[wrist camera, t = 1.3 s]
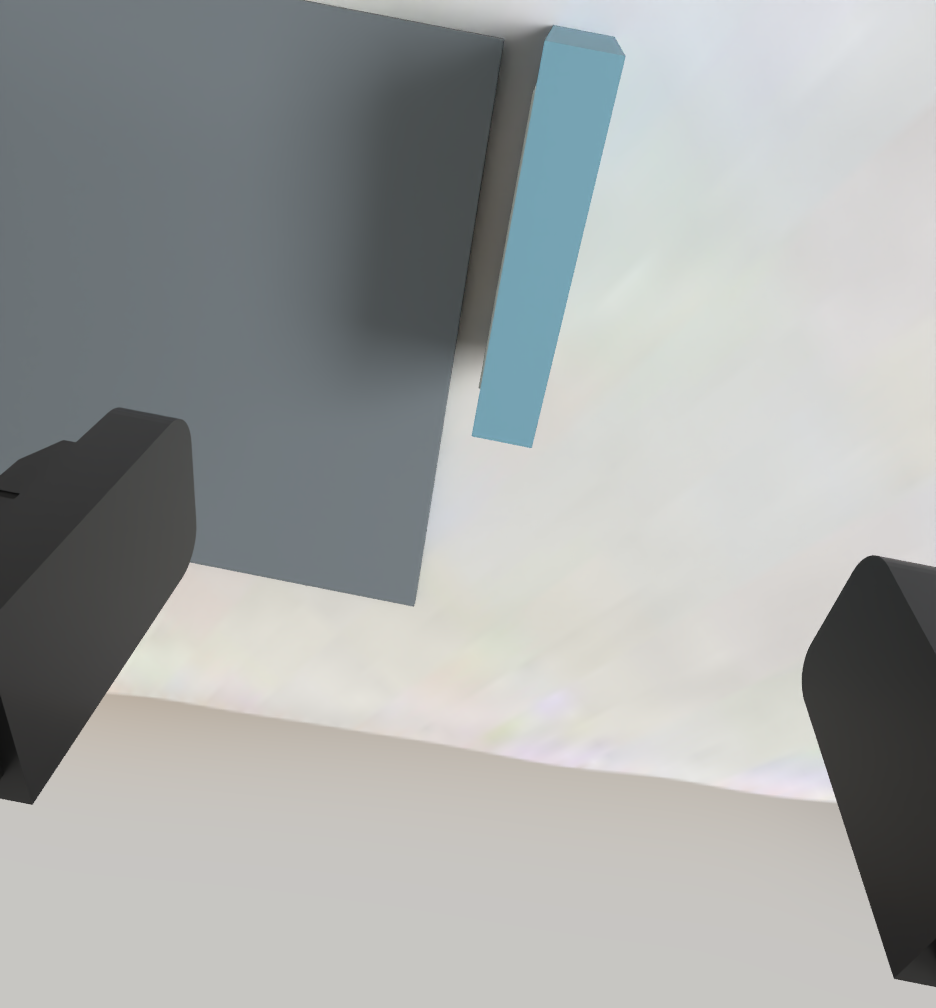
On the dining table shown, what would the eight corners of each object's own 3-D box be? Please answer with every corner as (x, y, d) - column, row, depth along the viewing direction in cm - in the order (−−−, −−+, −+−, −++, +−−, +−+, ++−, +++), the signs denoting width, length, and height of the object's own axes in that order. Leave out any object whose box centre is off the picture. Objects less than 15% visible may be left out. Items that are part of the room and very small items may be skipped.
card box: (551, 24, 20) (541, 40, 15) (614, 36, 20) (625, 56, 15) (490, 345, 25) (468, 435, 20) (541, 355, 25) (531, 447, 20)
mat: (-170, -92, 20) (-182, -93, 20) (504, 39, 20) (502, 39, 20) (-13, 515, 32) (-19, 521, 31) (415, 599, 31) (413, 606, 31)
